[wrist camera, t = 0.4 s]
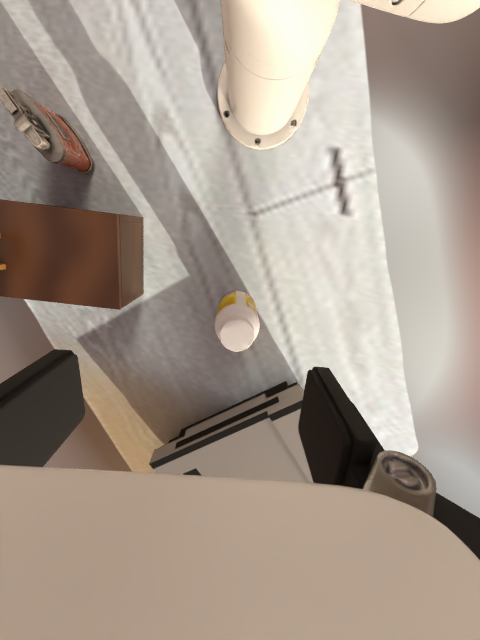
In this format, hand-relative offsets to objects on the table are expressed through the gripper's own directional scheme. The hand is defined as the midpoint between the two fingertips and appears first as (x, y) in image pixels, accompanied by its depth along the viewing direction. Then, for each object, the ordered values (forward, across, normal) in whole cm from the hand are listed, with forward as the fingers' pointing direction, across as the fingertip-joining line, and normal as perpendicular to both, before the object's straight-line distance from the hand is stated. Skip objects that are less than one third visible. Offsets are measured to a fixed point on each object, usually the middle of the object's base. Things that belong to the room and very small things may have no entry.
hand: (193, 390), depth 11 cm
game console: (+36, -6, +37) cm, 52 cm away
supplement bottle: (+36, -2, +7) cm, 37 cm away
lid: (+27, +23, -1) cm, 36 cm away
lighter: (+36, +24, -16) cm, 46 cm away
